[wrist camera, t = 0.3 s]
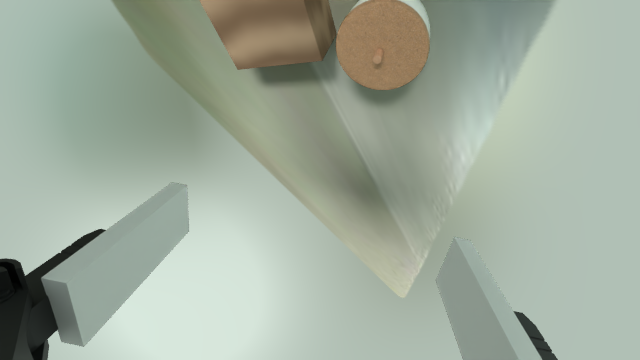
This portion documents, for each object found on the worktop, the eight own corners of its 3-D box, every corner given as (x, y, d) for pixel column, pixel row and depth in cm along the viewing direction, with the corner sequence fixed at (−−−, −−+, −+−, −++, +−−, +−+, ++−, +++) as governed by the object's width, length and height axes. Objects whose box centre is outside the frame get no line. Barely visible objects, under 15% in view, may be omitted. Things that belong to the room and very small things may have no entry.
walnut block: (209, -60, 38) (178, -39, 34) (305, -94, 32) (280, -73, 28) (257, 44, 48) (237, 69, 44) (337, 33, 42) (322, 60, 38)
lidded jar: (391, 71, 44) (378, 112, 39) (336, 20, 41) (314, 59, 36) (455, 17, 36) (449, 60, 31) (392, -52, 32) (374, -16, 27)
